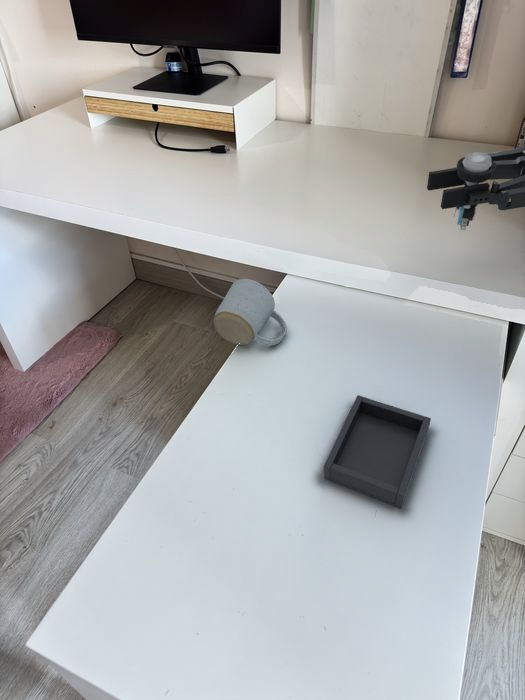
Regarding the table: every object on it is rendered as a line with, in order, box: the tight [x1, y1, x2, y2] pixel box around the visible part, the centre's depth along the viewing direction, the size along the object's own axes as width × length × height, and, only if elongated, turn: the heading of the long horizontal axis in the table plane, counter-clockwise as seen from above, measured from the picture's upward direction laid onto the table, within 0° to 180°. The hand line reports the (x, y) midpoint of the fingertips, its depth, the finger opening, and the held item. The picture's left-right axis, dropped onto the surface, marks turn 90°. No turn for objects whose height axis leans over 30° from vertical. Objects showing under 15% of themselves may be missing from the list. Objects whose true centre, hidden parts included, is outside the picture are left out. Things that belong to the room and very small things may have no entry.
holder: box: [323, 394, 432, 509], centre depth 62 cm, size 10×12×3 cm
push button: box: [453, 151, 496, 231], centre depth 75 cm, size 7×5×10 cm
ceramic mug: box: [213, 278, 288, 347], centre depth 78 cm, size 11×8×8 cm
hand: (436, 190), depth 75 cm, fingers closed on push button, 5 cm apart
